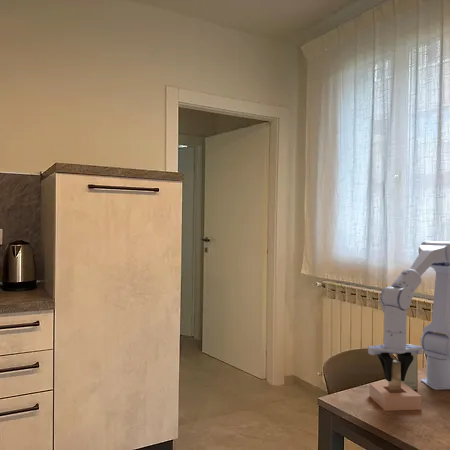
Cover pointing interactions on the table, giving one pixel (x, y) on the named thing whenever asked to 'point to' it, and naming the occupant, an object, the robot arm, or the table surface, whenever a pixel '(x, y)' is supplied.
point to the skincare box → (412, 373)
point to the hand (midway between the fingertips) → (394, 380)
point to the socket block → (395, 397)
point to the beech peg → (395, 377)
